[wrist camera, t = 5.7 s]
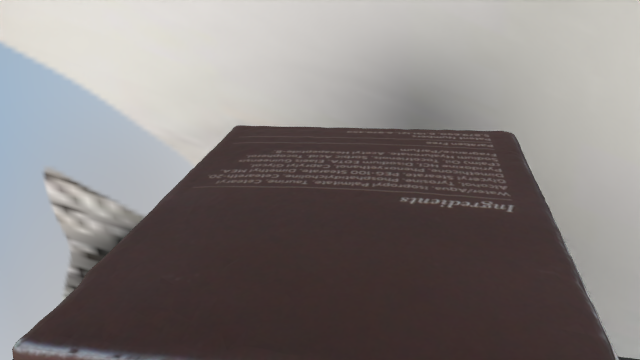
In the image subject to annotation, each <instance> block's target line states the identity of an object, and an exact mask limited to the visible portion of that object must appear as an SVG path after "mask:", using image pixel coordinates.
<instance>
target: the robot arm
mask: <svg viewBox="0 0 640 360" xmlns="http://www.w3.org/2000/svg"><path fill="white" fill-rule="evenodd" d="M553 219H554V218H553ZM554 222H555V221H554ZM555 224H556V223H555ZM556 226H557V225H556ZM557 228H558V227H557ZM562 239H563V238H562ZM563 241H564V240H563ZM564 244H565V242H564ZM565 246H566V244H565ZM566 248H567V246H566ZM567 251H568V249H567ZM568 253H569V251H568ZM569 255H570V253H569ZM570 256H571V255H570ZM571 258H572V257H571ZM572 260H573V259H572ZM574 265H575V264H574ZM575 267H576V266H575ZM576 269H577V268H576ZM577 272H578V270H577ZM578 273H579V272H578ZM579 276H580V275H579ZM580 278H581V277H580ZM581 280H582V279H581ZM582 283H583V281H582ZM583 285H584V283H583ZM584 288H585V291H586V293H587V296H588V297H589V299H590V301H591V302H592V300H591V298H590V296H589V294H588V292H587V290H586V287H585V285H584ZM592 304H593V303H592ZM593 306H594V305H593ZM594 308H595V307H594ZM595 310H596V309H595ZM596 313H597V311H596ZM597 315H598V313H597ZM598 318H599V315H598ZM599 320H600V318H599ZM600 323H601V325H602V327H603V329H604V331H605V328H604V326H603V324H602V322H601V320H600ZM605 333H606V331H605ZM606 335H607V333H606ZM607 337H608V335H607ZM608 340H609V342H610V344H611V341H610V339H609V337H608ZM611 347H612V350H613V353H614V356H615V359H616V360H640V359H632V358H623V357H618V356H617V354H616V352H615V350H614V348H613V346H612V344H611ZM13 360H14V359H13Z"/></svg>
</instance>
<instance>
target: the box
mask: <svg viewBox="0 0 640 360" xmlns="http://www.w3.org/2000/svg"><path fill="white" fill-rule="evenodd" d="M12 350H13V358H14V360H616V359H615V356H614V353H613V350H612V347H611V344H610V342H609V340H608V337H607V335H606V333H605V331H604V329H603V327H602V325H601V323H600V320H599V318H598V315H597V313H596V310H595V308H594V306H593V304H592V302H591V301H590V299H589V297H588V296H587V293H586V291H585V288H584V285H583V283H582V280H581V278H580V276H579V273H578V272H577V269H576V267H575V265H574V262H573V260H572V258H571V256H570V255H569V253H568V251H567V248H566V246H565V244H564V241H563V239H562V236H561V234H560V231H559V229H558V228H557V226H556V224H555V222H554V219H553V217H552V214H551V211H550V209H549V207H548V205H547V204H546V202H545V199H544V197H543V195H542V193H541V191H540V189H539V186H538V184H537V183H536V181H535V179H534V176H533V174H532V172H531V170H530V168H529V166H528V164H527V161H526V159H525V157H524V154H523V152H522V150H521V148H520V145H519V143H518V141H517V139H516V137H515V135H514V134H512V133H509V132H504V131H455V130H420V129H414V130H403V129H362V128H321V127H271V126H240V125H239V126H236V127H234V128H233V129H232V131H231V132H229V133H228V134H227V136H226V137H225V138H224V139H223V140H222V141H221V142H220V143H219V144H218V145H217V146H216V147H215V148H214V149H213V150H212V151H210V152H209V153H208V154H207V155H206V156H205V157H204V158H203V160H202V161H201V162H199V163H198V164H197V165H196V166H195V168H193V169H192V170H191V171H190V172H189V173H188V174H187V175H186V176H185V178H184V179H183V180H181V181H180V182H179V183H178V184H177V185H176V186H175V187H174V188H173V189H172V190H171V191H170V192H169V193H168V194H167V195H166V196H165V197H164V198H163V199H162V200H161V201H160V202H159V203H158V205H157V206H156V207H155V208H154V209H153V210H152V211H151V212H150V213H149V214H148V215H147V216H146V217H145V218H144V219H143V220H142V221H141V222H140V223H139V224H138V225H137V226H135V227H134V228H133V229H132V230H131V231H130V233H129V234H128V235H127V236H125V237H124V238H123V239H122V240H121V241H120V242H119V243H118V244H117V245H116V246H115V247H114V248H113V249H112V250H111V251H110V252H109V253H108V254H107V255H106V256H105V257H104V258H103V259H102V260H101V261H100V262H98V263H97V264H96V265H95V266H94V267H93V268H92V269H90V270H89V271H88V272H87V274H86V275H85V277H84V278H83V280H82V282H81V283H80V285H79V286H78V287H77V288H76V289H75V290H74V291H73V292H72V293H71V294H70V295H69V296H67V297H66V298H65V299H64V300H63V301H62V302H61V303H60V304H59V305H58V306H57V307H56V308H55V309H54V310H53V311H52V312H50V313H49V314H48V315H47V316H45V317H44V318H43V319H42V320H41V321H39V322H38V323H37V324H36V325H35V326H34V327H33V329H31V330H30V331H29V332H28V333H27V334H25V335H24V336H23V337H22V338H20V339H19V340H18V341H17V342H16V344H15V345H14V347H13V349H12Z"/></svg>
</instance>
